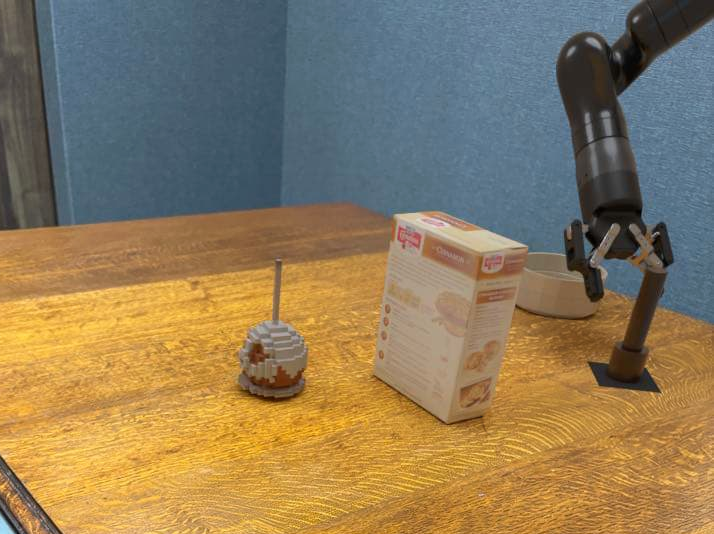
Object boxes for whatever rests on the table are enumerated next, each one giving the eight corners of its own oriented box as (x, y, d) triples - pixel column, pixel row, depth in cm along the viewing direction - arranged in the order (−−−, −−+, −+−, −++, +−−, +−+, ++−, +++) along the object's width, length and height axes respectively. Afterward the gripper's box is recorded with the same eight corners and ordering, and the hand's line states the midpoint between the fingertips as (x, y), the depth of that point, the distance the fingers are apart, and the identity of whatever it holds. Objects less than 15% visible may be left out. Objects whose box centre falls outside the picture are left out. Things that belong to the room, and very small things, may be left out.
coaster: (645, 370, 110) (646, 367, 110) (660, 396, 104) (661, 392, 104) (586, 364, 111) (587, 361, 110) (598, 389, 104) (599, 385, 104)
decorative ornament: (229, 376, 98) (232, 251, 90) (288, 370, 101) (297, 247, 93) (252, 405, 93) (258, 273, 84) (314, 397, 96) (326, 269, 87)
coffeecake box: (492, 414, 96) (532, 245, 84) (446, 426, 92) (481, 251, 81) (414, 365, 106) (440, 208, 94) (369, 374, 102) (391, 212, 91)
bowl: (587, 294, 136) (597, 257, 132) (605, 324, 124) (616, 285, 121) (502, 284, 136) (510, 248, 133) (512, 314, 125) (521, 275, 121)
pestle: (635, 371, 109) (670, 266, 101) (643, 384, 105) (680, 277, 97) (602, 367, 109) (635, 262, 101) (609, 381, 105) (643, 273, 97)
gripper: (574, 165, 102) (594, 286, 100) (672, 169, 105) (693, 287, 103) (544, 198, 109) (562, 312, 107) (637, 201, 113) (656, 312, 110)
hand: (626, 300), depth 105 cm, fingers open, 8 cm apart
